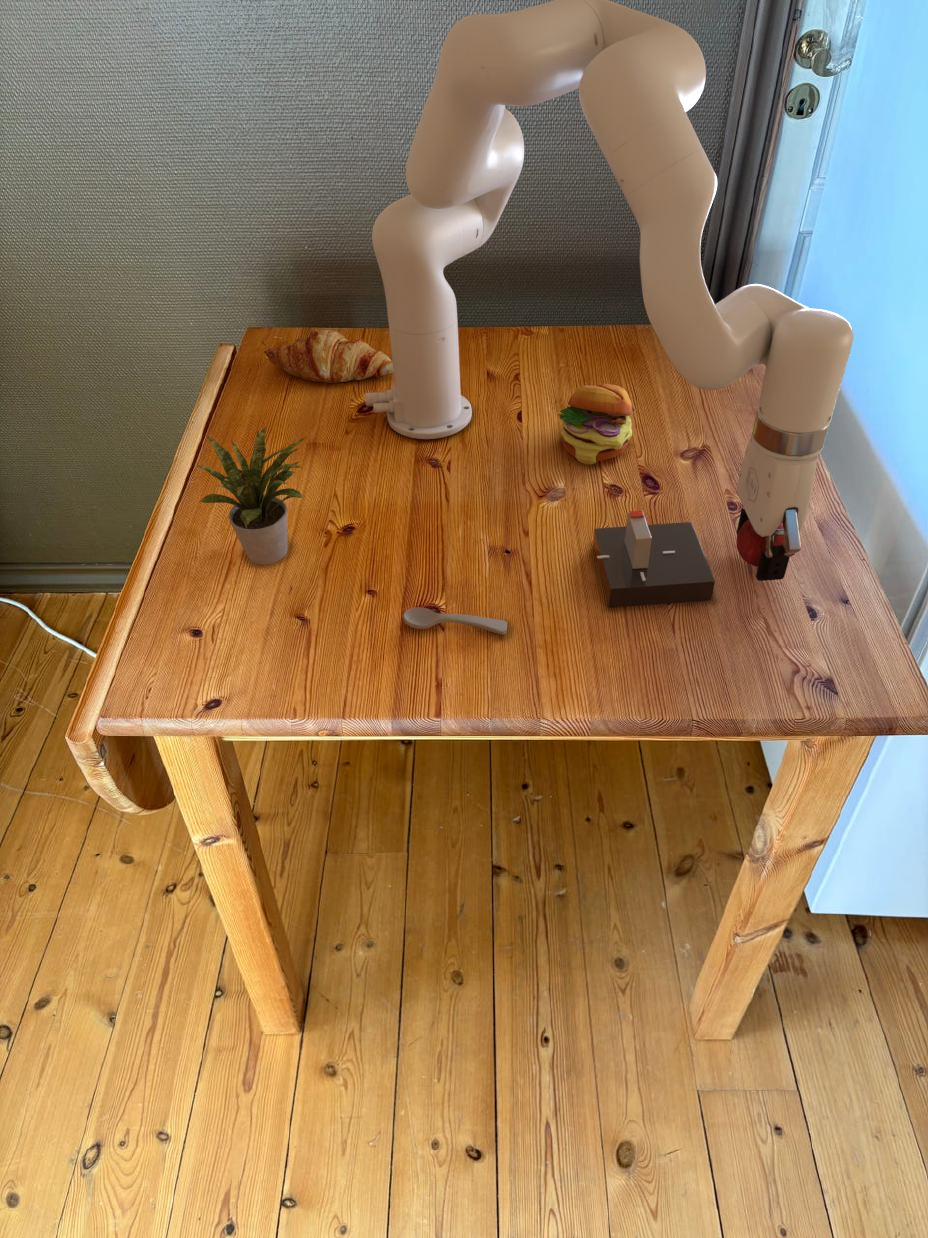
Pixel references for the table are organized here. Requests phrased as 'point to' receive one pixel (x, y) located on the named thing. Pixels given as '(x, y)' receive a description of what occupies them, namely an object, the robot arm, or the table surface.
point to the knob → (638, 539)
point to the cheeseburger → (597, 423)
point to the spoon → (451, 620)
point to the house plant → (256, 499)
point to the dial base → (654, 567)
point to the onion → (753, 543)
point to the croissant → (330, 358)
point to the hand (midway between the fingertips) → (759, 555)
